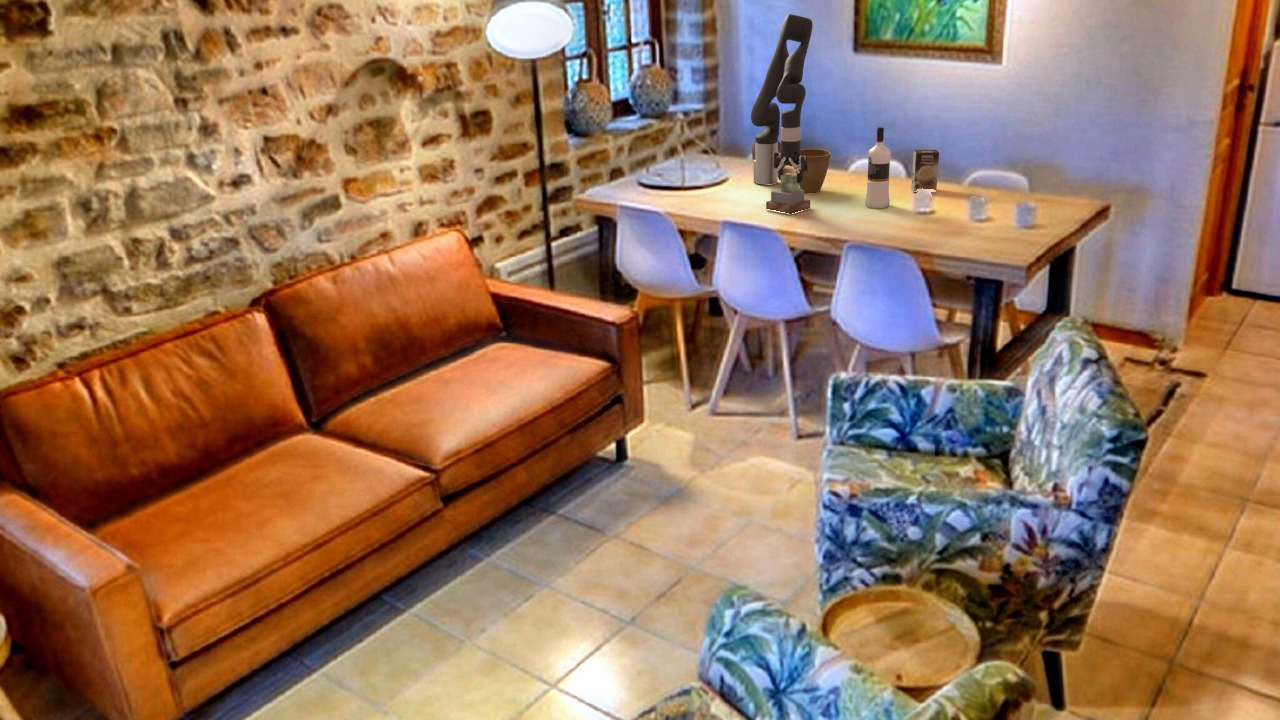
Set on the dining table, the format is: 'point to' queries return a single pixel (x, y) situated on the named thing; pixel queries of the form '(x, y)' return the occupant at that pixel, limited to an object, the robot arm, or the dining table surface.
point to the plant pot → (814, 169)
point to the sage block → (789, 183)
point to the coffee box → (925, 169)
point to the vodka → (878, 174)
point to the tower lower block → (788, 206)
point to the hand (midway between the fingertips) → (790, 181)
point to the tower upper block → (787, 196)
